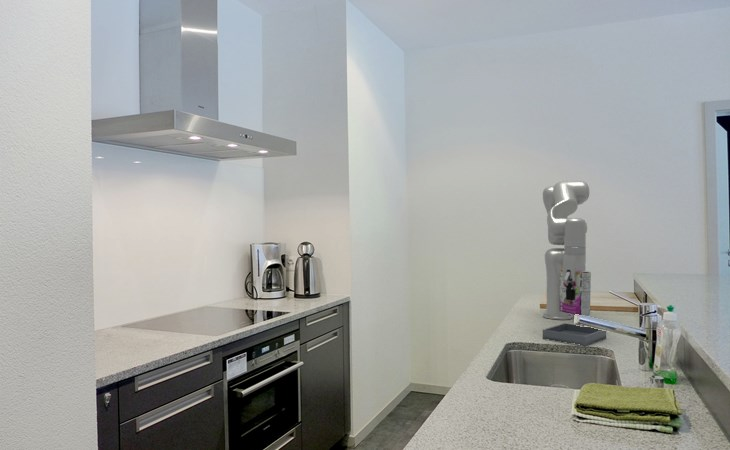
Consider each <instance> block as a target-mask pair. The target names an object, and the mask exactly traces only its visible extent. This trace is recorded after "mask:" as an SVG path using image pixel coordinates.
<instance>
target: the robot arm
mask: <svg viewBox="0 0 730 450" xmlns="http://www.w3.org/2000/svg"><path fill="white" fill-rule="evenodd" d="M542 191H543V192H542V200H543V205H544V208H545V210H546V213H547V216H546V222H547V239H548V243H549V244H551V245H553V246H564V247H563V248H562V247H554V248H553V247H552V248H550V249H547V250H546V251H545V254H544V264H545V269H546V271H545V272H546V312H545V313H543V314H542V316H543V318H545V319H548V320H549V319H550V320H560V321H561V320H563V321H565V320H571V319H573V314H570V313H565V312H561V311H560V269H563V275H562V279H563V281H564V283H565V286H566V287H565V288H566V299H567V300H575V290H574V285H575V282H576V276H577V272H578V271H586V263H587V261H586V260H587V259H586V257H587V256H586V254H587V253H586V252H587V251H586V248H587V245H586V244H587V243H586V242H587V238H586V237H587V236H586V235H587V231H588V224H587V222H586V221H585V219H583V218H580V217H579V218H578V217H573V218H572V217H568V216H571V215H572V214H574V213H575V212H576V211H577V210H578V206H579V205H582V204H584V203H585V202H586V201H588V199H589V198H590V188H589V185H588V183H587V182H585V181H584V180H563V181H558V182H556V183H555V184H554V185H551V186H547V187H545V188H544V189H543V190H542ZM569 280H572V281H569ZM571 283H572V285H571Z"/></svg>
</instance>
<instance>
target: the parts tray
mask: <svg viewBox="0 0 730 450" xmlns="http://www.w3.org/2000/svg"><path fill="white" fill-rule="evenodd" d="M576 325H577V324H573V323H566V322H565V323H561V324H558V325H555V326H551V327H548V328H544V329H542V340H546V339H549V340H548V341H551V340H555V341H554V342H557V341H561V342H560V343H563V342H567V343H566V344H569V343H575V344H580V345H583V346H582V347H587V346H586V345H588V346H590V345H592V343H593V344H595V343H598V342H600V341H603V340H605V339H607V330H606V331H602V330H598V329H594V328H595V327H594V328H591V327H592V326H588V327H580V326H576ZM589 344H590V345H589ZM580 345H579V346H580Z"/></svg>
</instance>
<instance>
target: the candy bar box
mask: <svg viewBox="0 0 730 450" xmlns="http://www.w3.org/2000/svg"><path fill="white" fill-rule="evenodd" d="M562 275H563V269H560V311H561V312H565V313H569V314H570V315H573V316H574V315H575V314H579V315H585V316H584V317H586V316H590V315H591V275H592V274H591V271H588V270H585V271H578V272H577V276H576V282H575V285H574V290H575V300H567V299H566V288H565V287H566V286H565V283H564V281H563V279H562ZM569 281H572V280H569ZM571 285H572V283H571ZM579 315H578V316H579ZM575 316H576V315H575Z"/></svg>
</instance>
